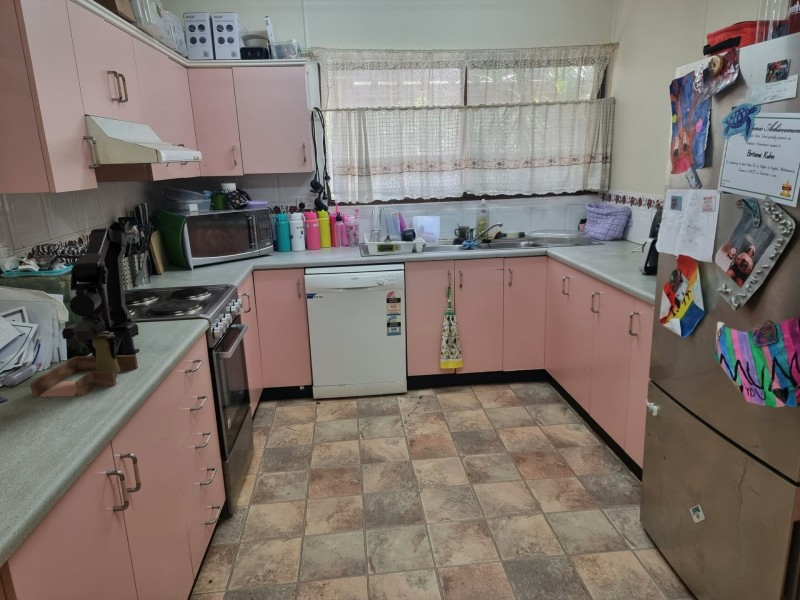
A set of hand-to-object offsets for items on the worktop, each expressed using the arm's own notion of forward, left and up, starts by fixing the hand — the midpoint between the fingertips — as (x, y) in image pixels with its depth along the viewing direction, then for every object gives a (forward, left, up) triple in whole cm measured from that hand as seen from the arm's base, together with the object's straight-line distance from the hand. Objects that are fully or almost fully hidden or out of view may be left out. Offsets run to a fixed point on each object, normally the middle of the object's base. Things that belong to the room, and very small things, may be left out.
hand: (106, 359), depth 149 cm
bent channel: (+3, -4, -5) cm, 7 cm away
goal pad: (+8, -7, -5) cm, 12 cm away
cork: (0, 0, -4) cm, 4 cm away
